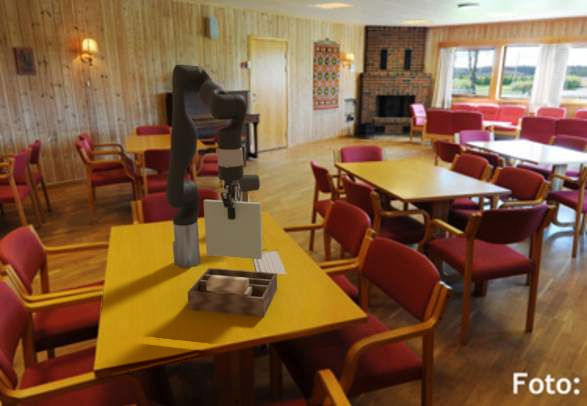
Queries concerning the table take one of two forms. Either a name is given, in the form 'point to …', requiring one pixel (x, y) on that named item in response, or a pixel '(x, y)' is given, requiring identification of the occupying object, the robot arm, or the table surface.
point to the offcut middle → (247, 293)
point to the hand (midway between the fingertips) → (232, 217)
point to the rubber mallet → (249, 185)
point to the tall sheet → (233, 230)
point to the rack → (234, 304)
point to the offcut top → (227, 284)
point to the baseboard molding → (269, 263)
